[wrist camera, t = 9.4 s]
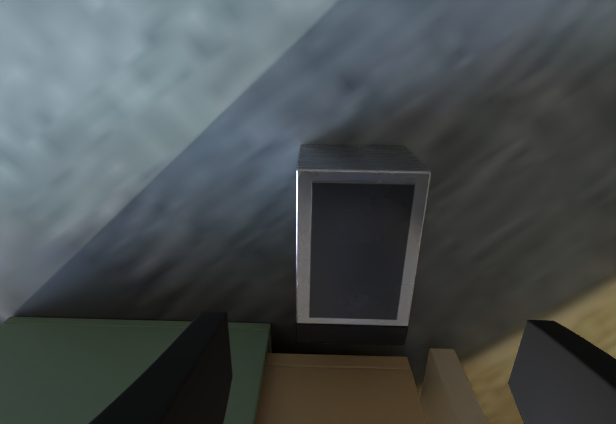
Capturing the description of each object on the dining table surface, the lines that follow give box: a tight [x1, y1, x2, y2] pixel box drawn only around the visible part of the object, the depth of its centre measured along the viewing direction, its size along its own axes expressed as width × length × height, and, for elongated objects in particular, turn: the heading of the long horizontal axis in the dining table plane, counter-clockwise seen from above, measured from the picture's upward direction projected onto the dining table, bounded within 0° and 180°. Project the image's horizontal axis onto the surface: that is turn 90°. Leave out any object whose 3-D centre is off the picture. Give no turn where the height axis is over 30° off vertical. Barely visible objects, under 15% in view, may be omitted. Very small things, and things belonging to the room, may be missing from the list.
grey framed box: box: [296, 145, 431, 345], centre depth 14 cm, size 4×7×4 cm, turn 179°
